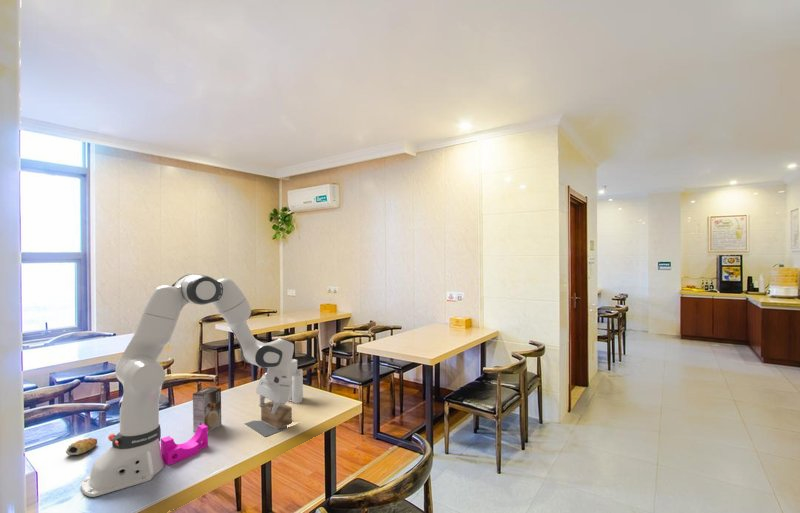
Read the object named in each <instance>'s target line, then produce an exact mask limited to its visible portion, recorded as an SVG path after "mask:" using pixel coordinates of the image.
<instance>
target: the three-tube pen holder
mask: <svg viewBox="0 0 800 513" xmlns="http://www.w3.org/2000/svg"><path fill="white" fill-rule="evenodd" d="M288 375H289V377H290V378H291V380H292V381H293V383H292V385H291V386H290V393H289V397H288V400H287V402H291V403H292V402H294V403H293V404H295V403H298V404H300V403H299V402H301V403H303V399H302V398H304V391H303V390H304V387H303V386H304V385H303V384H304V382H303V379H304V378H303V375H304V374H303V368H299V369H298V359H295V358H292V360H291V363H290V365H289V371H288ZM290 400H292V401H290Z"/></svg>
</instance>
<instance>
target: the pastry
mask: <svg viewBox="0 0 800 513" xmlns="http://www.w3.org/2000/svg"><path fill="white" fill-rule="evenodd" d="M97 444H98V439H97V438H92V437H89V438H85V439H81V440H80V439H79V440H76V441H75V442H73V443H71V444H70V445H68V448H66V450H65V454H66V455H67V456H73V455H81V454H84V453H86V452H88V451H90V450H92V449H93V448H95V447H96V446H97Z"/></svg>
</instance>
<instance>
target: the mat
mask: <svg viewBox="0 0 800 513" xmlns="http://www.w3.org/2000/svg"><path fill="white" fill-rule="evenodd" d="M244 425H245V426H247V427H249V428H250V429H251V430H253V431H255V432H257V433H258V434H260V435H261V436H262V437H264V438H268V437H270V436H272V435H275V434H277V433H280V432H282V431H285V430H288V429H290V428H289V427H288V429H287V426H284V427H281V428H279V429H276V428H274V427H272V426H270V425H269V424H267V423H265V422H263V421H261V420H251V421H248V422H245V423H244Z"/></svg>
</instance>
